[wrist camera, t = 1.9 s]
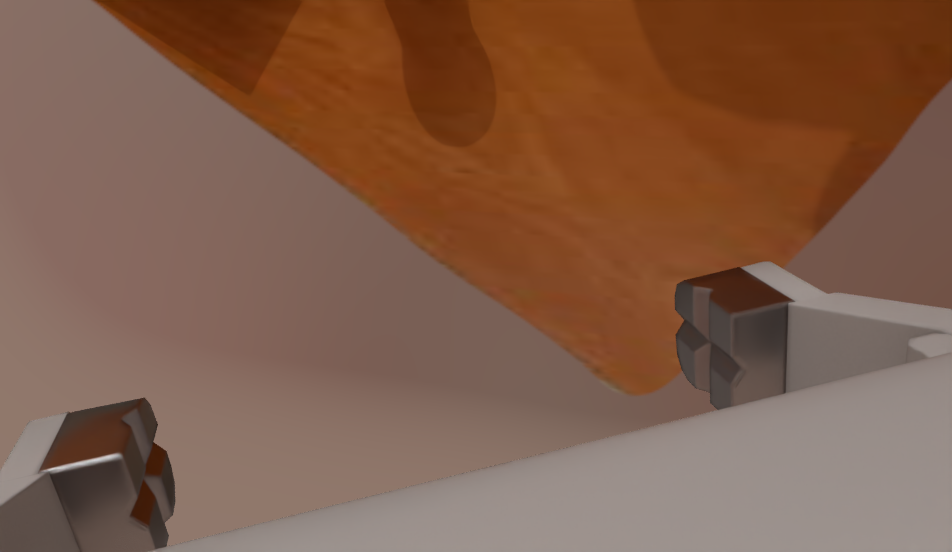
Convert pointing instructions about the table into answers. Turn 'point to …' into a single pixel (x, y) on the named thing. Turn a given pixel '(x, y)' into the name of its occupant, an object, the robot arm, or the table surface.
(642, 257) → the table surface
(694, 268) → the table surface
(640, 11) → the table surface
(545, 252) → the table surface
